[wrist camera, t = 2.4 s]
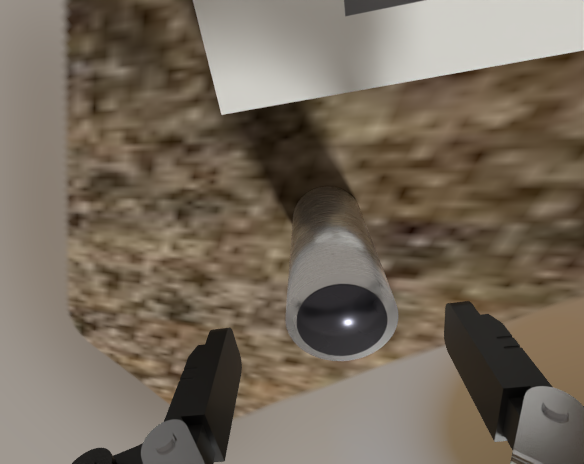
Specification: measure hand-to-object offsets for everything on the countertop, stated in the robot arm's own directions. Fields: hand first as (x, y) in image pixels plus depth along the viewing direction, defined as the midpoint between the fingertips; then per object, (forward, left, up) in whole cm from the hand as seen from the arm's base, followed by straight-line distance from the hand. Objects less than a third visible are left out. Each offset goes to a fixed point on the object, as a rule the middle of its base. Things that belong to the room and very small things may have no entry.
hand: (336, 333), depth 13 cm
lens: (0, 0, -11) cm, 11 cm away
